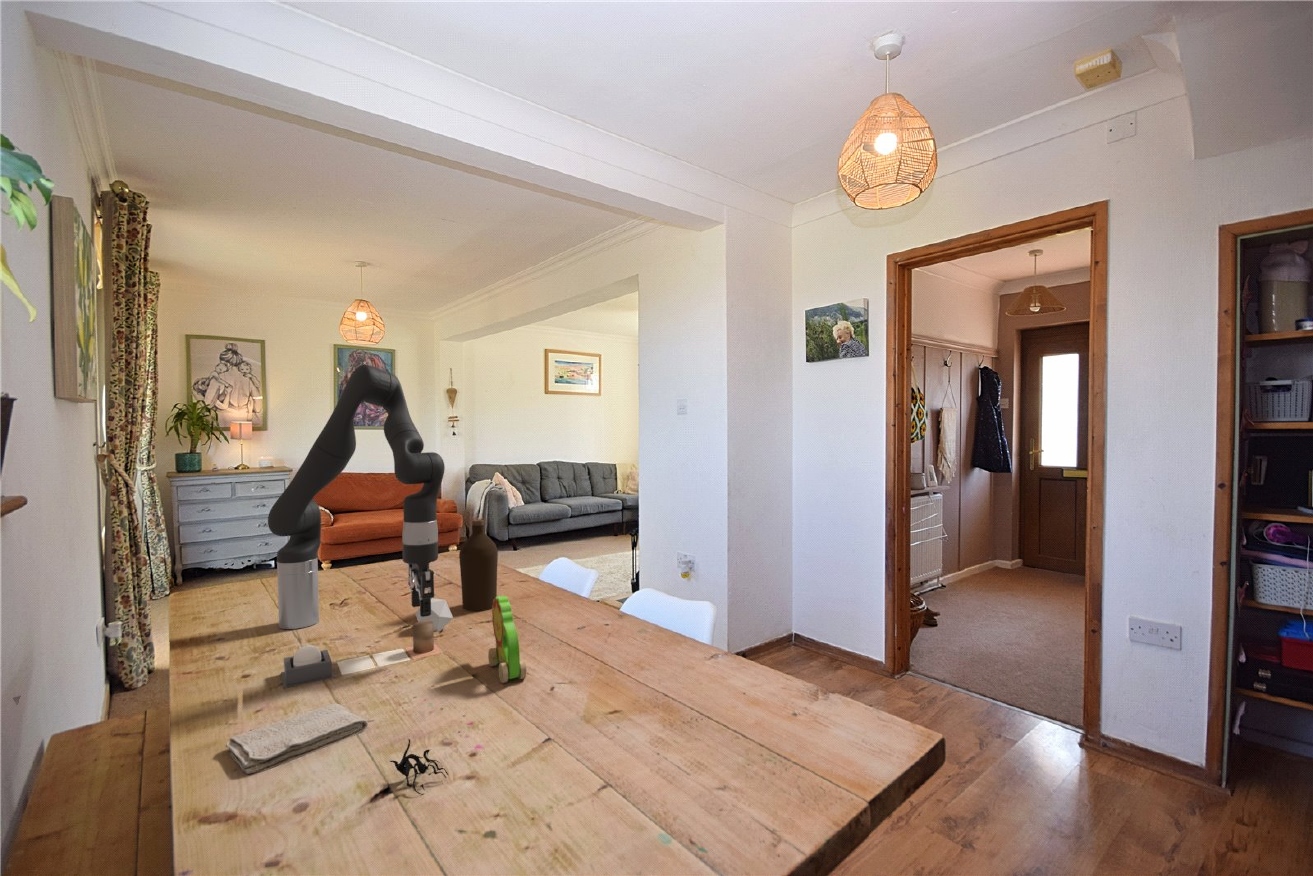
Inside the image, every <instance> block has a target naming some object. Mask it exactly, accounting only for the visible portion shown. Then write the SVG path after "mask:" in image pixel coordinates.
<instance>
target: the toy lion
mask: <svg viewBox="0 0 1313 876" xmlns="http://www.w3.org/2000/svg"><path fill="white" fill-rule="evenodd" d="M491 613H492V614H491V615H492V616H491V620H492V621H491V622H492V627H493V636H494V638H495V647H492V648H489V649H488V654H487V655H488V656H487V657H488V664H489V667H496V666H497V664H498V677H499V683H501V684H505V683H508V681H509V680H512V679H516V678H518V679H519V680H524V679H526V677H527V664H526V662H525V660H524V659H521V657H520V655H521V654H520V642H519V636H518V631H517V628H516V625H515V623H514V615H513V612H512V605H511V603H510V601H509V597H508V596H506V595H499V596H497V597H495V599H494V600H493V606H492V608H491Z"/></svg>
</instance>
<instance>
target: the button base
mask: <svg viewBox="0 0 1313 876" xmlns="http://www.w3.org/2000/svg"><path fill="white" fill-rule="evenodd" d="M320 652H321V662H318V663H313V664H309V665H304V666H299V667H294V668H293V658H294V655H292V656H288V657H284V658H283V671H281V673H280V675H281V681H282V688H283V689H288V688H292V687H297V686H302V685H306V684H311V683H315V682H320V681H323V680H329V679H334V678H336V675H335V672H334V670H333V667H332V665H333V664H332V659H331V655H330V653H329V651H328V649H324V650H320Z"/></svg>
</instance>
